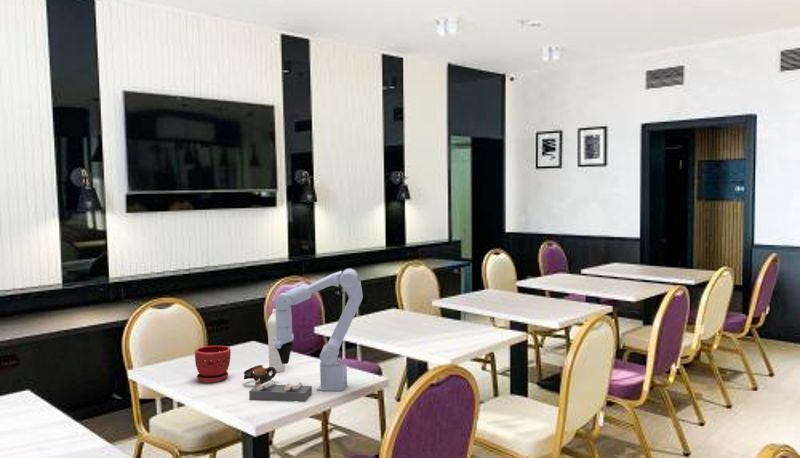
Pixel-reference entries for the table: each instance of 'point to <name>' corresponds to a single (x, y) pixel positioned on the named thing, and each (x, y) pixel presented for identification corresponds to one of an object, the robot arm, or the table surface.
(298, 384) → the block
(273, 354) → the water bottle
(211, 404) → the table surface
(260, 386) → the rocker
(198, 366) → the plant pot
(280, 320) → the robot arm
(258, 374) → the pottery mug
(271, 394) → the power strip
